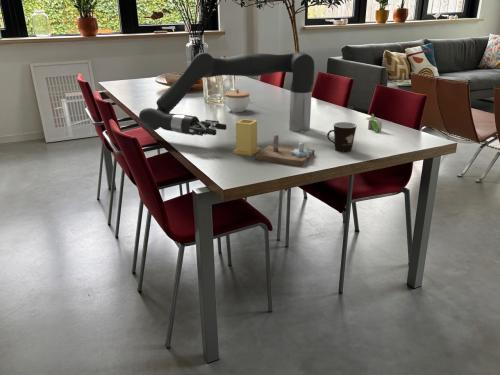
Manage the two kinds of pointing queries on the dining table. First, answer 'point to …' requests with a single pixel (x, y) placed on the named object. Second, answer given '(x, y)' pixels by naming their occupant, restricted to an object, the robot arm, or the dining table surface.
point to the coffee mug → (343, 136)
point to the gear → (301, 151)
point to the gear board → (282, 154)
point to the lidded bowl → (237, 100)
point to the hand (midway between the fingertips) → (221, 129)
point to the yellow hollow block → (246, 137)
